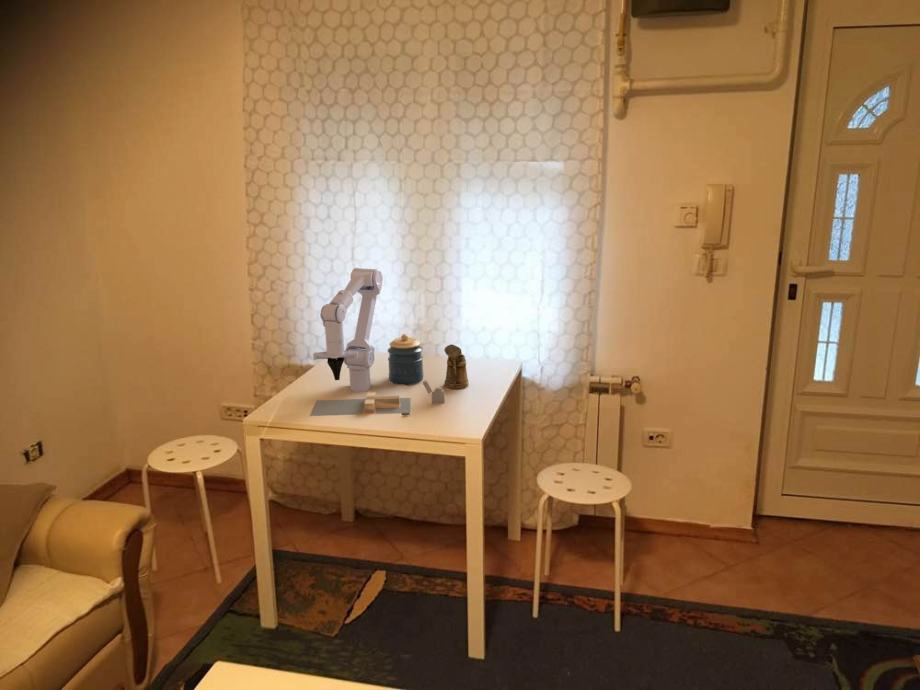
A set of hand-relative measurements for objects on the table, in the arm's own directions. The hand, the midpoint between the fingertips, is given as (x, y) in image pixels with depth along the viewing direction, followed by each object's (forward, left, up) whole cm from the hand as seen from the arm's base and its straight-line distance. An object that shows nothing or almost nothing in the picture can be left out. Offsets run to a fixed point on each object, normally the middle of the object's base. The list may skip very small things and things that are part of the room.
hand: (337, 379), depth 231 cm
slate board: (+4, +8, -9) cm, 13 cm away
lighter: (0, +32, -10) cm, 33 cm away
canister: (-25, +22, -10) cm, 35 cm away
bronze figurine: (-15, +40, -10) cm, 44 cm away
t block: (+4, +15, -8) cm, 18 cm away
